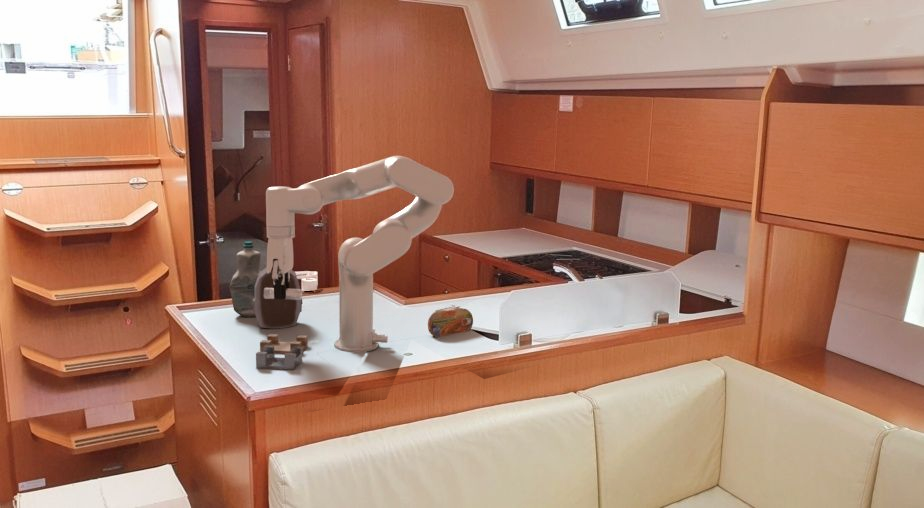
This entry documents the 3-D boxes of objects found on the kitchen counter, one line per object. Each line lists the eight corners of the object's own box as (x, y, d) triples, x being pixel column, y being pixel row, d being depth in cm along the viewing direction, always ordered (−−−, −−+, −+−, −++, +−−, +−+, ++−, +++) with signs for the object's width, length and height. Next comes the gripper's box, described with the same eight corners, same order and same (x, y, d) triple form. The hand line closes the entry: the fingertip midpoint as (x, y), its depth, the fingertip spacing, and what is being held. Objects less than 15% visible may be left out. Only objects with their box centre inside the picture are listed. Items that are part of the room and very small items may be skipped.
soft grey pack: (253, 332, 230) (252, 267, 227) (252, 325, 238) (250, 262, 235) (304, 328, 235) (303, 265, 232) (300, 322, 243) (300, 260, 239)
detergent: (270, 313, 253) (269, 239, 249) (273, 318, 247) (272, 242, 243) (229, 316, 248) (227, 240, 244) (231, 321, 242) (229, 243, 238)
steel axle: (302, 298, 212) (302, 287, 211) (299, 300, 209) (299, 290, 208) (267, 297, 213) (266, 286, 212) (263, 299, 210) (263, 289, 209)
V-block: (302, 361, 202) (302, 347, 202) (294, 370, 195) (294, 355, 195) (265, 359, 203) (265, 345, 202) (256, 368, 196) (255, 353, 195)
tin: (431, 340, 226) (431, 313, 224) (426, 338, 228) (426, 310, 227) (473, 334, 234) (474, 307, 232) (467, 331, 236) (468, 305, 235)
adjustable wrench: (441, 316, 243) (441, 310, 243) (423, 314, 246) (423, 309, 246) (473, 309, 266) (473, 304, 266) (457, 308, 268) (457, 303, 268)
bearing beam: (307, 345, 217) (307, 335, 216) (299, 354, 209) (299, 343, 208) (269, 344, 218) (269, 334, 217) (260, 352, 209) (259, 342, 209)
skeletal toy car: (268, 299, 274) (268, 279, 273) (263, 292, 284) (263, 273, 283) (323, 295, 282) (323, 276, 281) (316, 289, 292) (316, 270, 291)
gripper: (276, 227, 216) (277, 290, 219) (257, 235, 200) (259, 303, 203) (302, 228, 216) (303, 291, 219) (285, 236, 199) (286, 304, 202)
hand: (282, 296), depth 211 cm, fingers closed on steel axle, 3 cm apart
